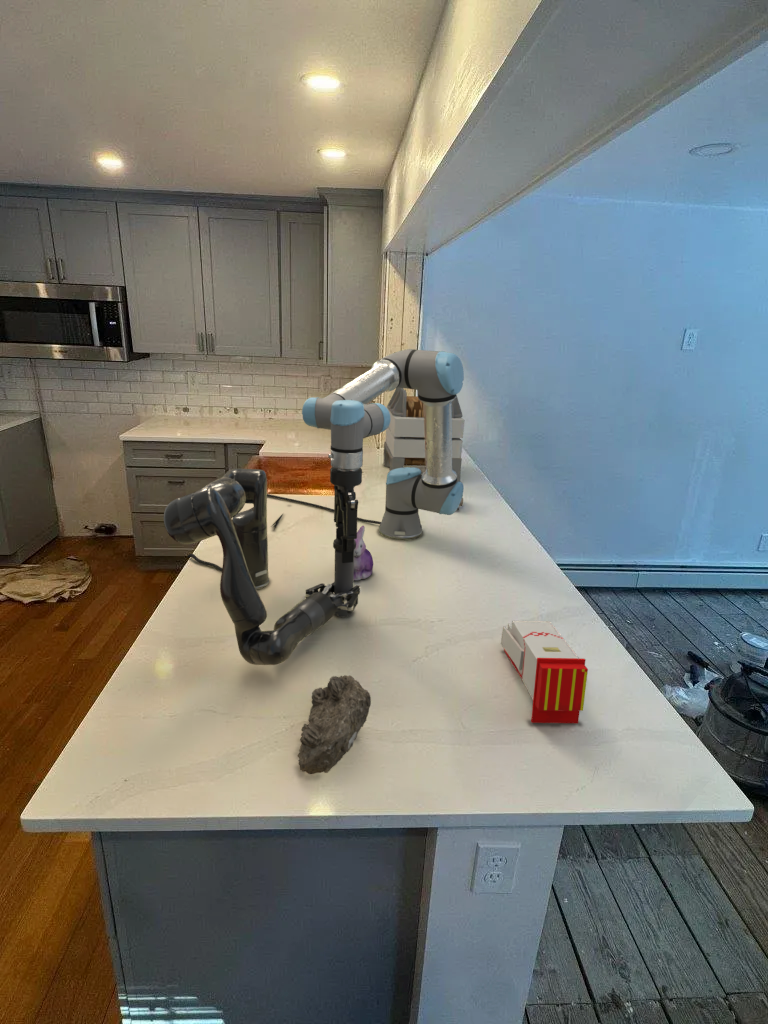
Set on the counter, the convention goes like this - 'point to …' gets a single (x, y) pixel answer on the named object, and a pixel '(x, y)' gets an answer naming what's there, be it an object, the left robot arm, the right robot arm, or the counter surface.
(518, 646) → the toy
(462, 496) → the figurine character
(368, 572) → the figurine
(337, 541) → the lid
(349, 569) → the dark grey cylinder
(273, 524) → the dark tapered rod
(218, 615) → the counter surface
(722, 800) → the counter surface
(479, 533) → the counter surface
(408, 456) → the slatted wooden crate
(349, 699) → the fossil
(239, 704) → the counter surface
